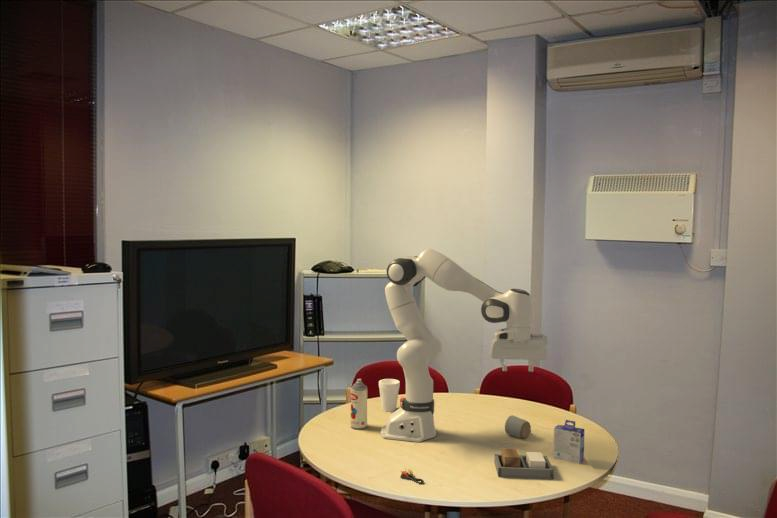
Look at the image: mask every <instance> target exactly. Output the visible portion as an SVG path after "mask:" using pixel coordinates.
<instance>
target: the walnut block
mask: <svg viewBox="0 0 777 518" xmlns="http://www.w3.org/2000/svg"><path fill="white" fill-rule="evenodd" d="M501 454H502V463H501V465H502V467H518V468H520V457H519V455H520V454H519V452H518V450H517V448H512V447H511V448H509V447H507V448H505V447H502V448H501Z"/></svg>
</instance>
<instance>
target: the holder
mask: <svg viewBox="0 0 777 518" xmlns="http://www.w3.org/2000/svg"><path fill="white" fill-rule="evenodd" d="M519 457H520V468H518V467H502V465H501V463H502V453H497V454H496V453H494V457H493V458H494V461H493V462H494V467H495V471H496V473H497V477H498V478H520V479H539V480H540V479H541V480H544V479H546V480H553V479H554V475H555V473H554V471H555V470H554V468H553V466H552V464H551V462H550V460H549V459H548V457H547V455H543V457H544V459H545V461H546V462H545V468H527V467H526V454H525V455H524V454H519Z"/></svg>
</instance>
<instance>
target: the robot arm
mask: <svg viewBox="0 0 777 518" xmlns="http://www.w3.org/2000/svg"><path fill="white" fill-rule="evenodd" d="M386 276H387V280H389V282H388V283H387V284H386V286H385V287H384V293H385V300H386V303H387V307H388V310H389V312H390V315H391V317H392V320H393V322H394V323H393V324H394V325H395V328H396V330H398V331H399V332H400V333H401V334H402V335H403V336H404V337H405V339H406V340H407V341H405V342H404V343H403V344H402V345H400V347H399V348H398V349H397V351H396V359H397V362H398V364H399V365H400V366H401V367H402V369H403V370H402V371H403V374H404V378H405V381H404V382H405V397H404V396H401V397H400V398H399V402H400V407H399V408H398V409H396V411H394V412H391V414H390V415H389V416H388V417H387V420H386V424H385V425H383V426H382V427H381V428H380V436H381V438H383V439H385V440H387V439H388V440H398V441H405V442H416V443H421V442H423V441H425V440H429V439H433V438H435V437H436V436H437V430H436V425H435V420H434V418H435V417H434V415H435V414H434V413H435V399H434V379H433V378H432V377H431V375H430V371H429V364H430V363H432V362H433V361H435V360H436V359H437V358H439V356H440V354H441V353H442V350H443V345H442V342H441V340H440V339H439V338H438V337H436V336H435V335H434V334H433V333H432V331H431V330H430V329H429V327H428V326H427V324H426V323H425V320H424V319H423V317H422V315H421V312H420V309H419V307H418V304H417V302H416V299H415V296H414V294H413V287H417V286H418V285H419V284H420V283H421V282H422V281H424V279H426V278H427V279H429V280H430V281H431V282H433V283H434V284H436V285H437V286H439V287H440V288H441V289H445V290H446V291H449V292H450V291H451V292H463V293H467V294H470V295H472V296H474V297H475V298H476V299H479V301H482V302H483V303H482V304H481V308H480V313H481V316H482V317H483V319H484V320H485V321H486V322H488V323H492V324H498V323H506V327H504V328H500V329H497V330H495V331H494V332H493V337H494V338H492V340H491V343H490V347H489V349H490V350H489V356H490V357H491V359H493V360H499V362H500V364H501V365H502V372H507V371H508V365H505V364H504V362H505V360H528V361H529V360H531V362H532V364H531V365H528V372H530V373H533V372H534V368H535V366H536V364H537V363H538V362H537V361H545V360H546V359H547V357H548V353H547V345H548V337H547V336H546V335H544V334H542V333H539V334H537V333H532V322H531V317H532V312H533V311H532V309H533V308H532V297H531V294H530V293H529V292H528V291H526V290H524V289H521V288H510V289H508V290H507V291H506V292H500V291H498V290H496V289H494V288H493V287H491V286H490V285H489V284H486V283H485V282H484V281H482V280H480V279H479V278H477V277H475V276H473V274H471V273H470V272H468V270H465V269H464V268H463V267H462V266H460V265H459V264H458V263H456V262H455V261H453V260H452V259H451V258H449V257H448V256H446V255H445V254H442V253H441V252H439V251H437V250H434V249H432V248H426V249H424V250H422V251H421V252H420V254H419V255H418V256H417V255H416V256H412V255H411V256H403V257H400V258H396V259H393V260H392V261H391V262H389V263H388V266H387V267H386Z"/></svg>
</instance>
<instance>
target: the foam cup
mask: <svg viewBox="0 0 777 518" xmlns="http://www.w3.org/2000/svg"><path fill="white" fill-rule="evenodd" d="M400 383H401V382H400V380H398V379H394V378H384V379H380V380H379V381H378V388H379V397H380V404H381V411H383V412H384V413H386V412H387V413H393V412H395V411H396V410H397V405H398V400H399V397H398V396H399V392H400V386H401V385H400Z"/></svg>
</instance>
